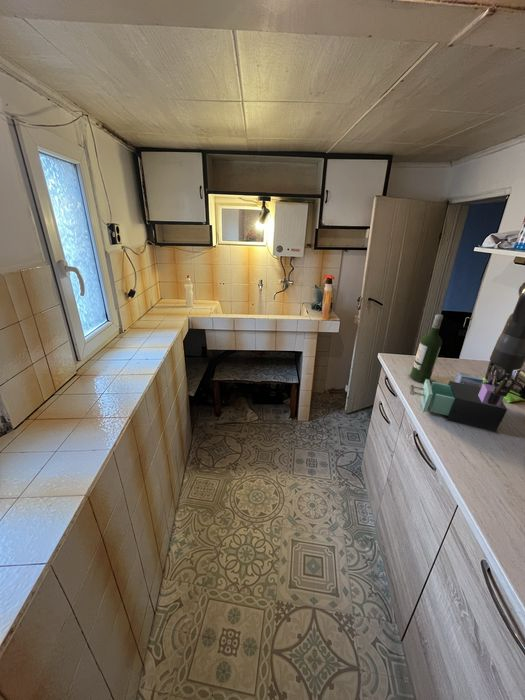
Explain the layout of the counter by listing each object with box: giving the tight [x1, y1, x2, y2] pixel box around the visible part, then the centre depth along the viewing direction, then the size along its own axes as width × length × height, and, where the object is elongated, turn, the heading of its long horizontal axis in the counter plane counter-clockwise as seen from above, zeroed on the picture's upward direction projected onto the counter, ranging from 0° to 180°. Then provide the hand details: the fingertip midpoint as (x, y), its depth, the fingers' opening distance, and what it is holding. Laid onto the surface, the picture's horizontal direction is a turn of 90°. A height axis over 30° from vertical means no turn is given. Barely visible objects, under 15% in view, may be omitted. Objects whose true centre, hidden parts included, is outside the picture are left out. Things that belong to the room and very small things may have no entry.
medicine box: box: [454, 371, 484, 387], centre depth 115 cm, size 8×4×9 cm, turn 72°
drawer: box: [408, 379, 455, 416], centre depth 105 cm, size 19×11×8 cm, turn 67°
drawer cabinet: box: [445, 380, 508, 433], centre depth 101 cm, size 15×13×10 cm
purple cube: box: [478, 382, 505, 406], centre depth 86 cm, size 4×4×4 cm
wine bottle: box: [409, 313, 444, 384], centre depth 121 cm, size 8×8×30 cm
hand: (489, 399), depth 87 cm, fingers closed on purple cube, 4 cm apart
